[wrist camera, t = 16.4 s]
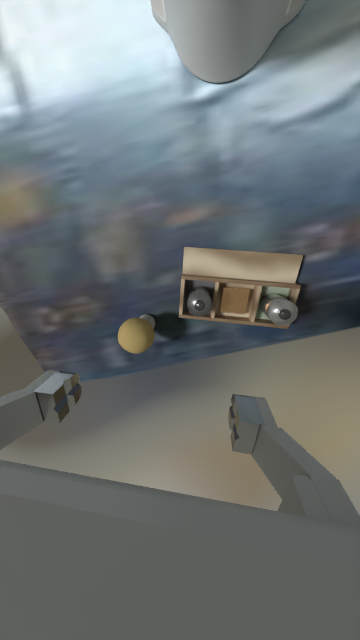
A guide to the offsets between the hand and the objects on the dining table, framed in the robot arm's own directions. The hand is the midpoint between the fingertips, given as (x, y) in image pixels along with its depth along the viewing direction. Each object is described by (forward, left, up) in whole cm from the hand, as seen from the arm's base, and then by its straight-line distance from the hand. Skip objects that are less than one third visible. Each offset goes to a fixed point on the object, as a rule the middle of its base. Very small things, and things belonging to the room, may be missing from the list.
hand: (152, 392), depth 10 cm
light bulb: (+8, -9, -29) cm, 31 cm away
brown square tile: (+1, +8, -27) cm, 28 cm away
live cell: (+1, +15, -27) cm, 31 cm away
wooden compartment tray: (-1, +8, -29) cm, 30 cm away
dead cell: (+1, +2, -27) cm, 27 cm away
